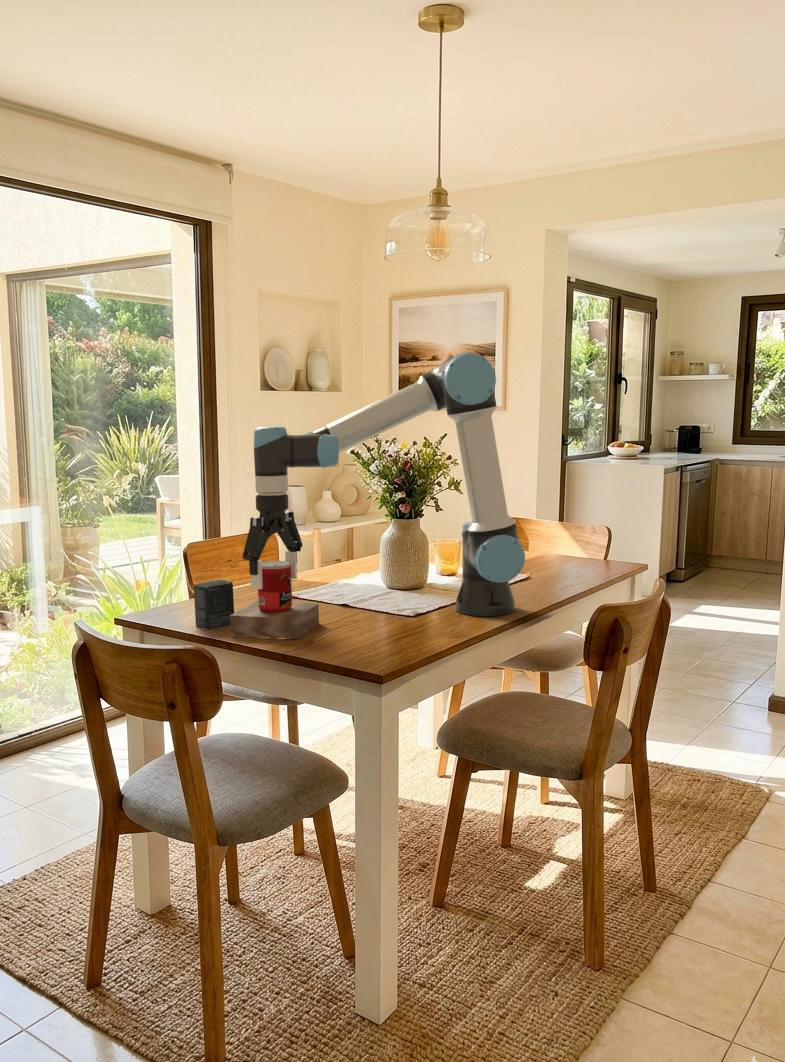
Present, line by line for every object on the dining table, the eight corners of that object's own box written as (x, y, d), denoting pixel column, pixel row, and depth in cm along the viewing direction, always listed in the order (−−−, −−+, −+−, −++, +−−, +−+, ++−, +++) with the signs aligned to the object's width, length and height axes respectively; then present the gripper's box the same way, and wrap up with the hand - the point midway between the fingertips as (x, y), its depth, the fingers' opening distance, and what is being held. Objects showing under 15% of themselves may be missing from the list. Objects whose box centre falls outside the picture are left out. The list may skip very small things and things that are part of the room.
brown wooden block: (318, 623, 222) (318, 603, 222) (296, 640, 207) (295, 618, 206) (257, 620, 226) (256, 600, 226) (230, 636, 211) (229, 615, 210)
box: (222, 620, 227) (220, 579, 225) (235, 624, 223) (233, 582, 221) (194, 626, 221) (192, 583, 220) (207, 630, 217) (205, 586, 216)
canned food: (286, 613, 212) (285, 566, 210) (253, 612, 213) (252, 565, 212) (296, 606, 219) (295, 561, 217) (264, 605, 221) (263, 560, 219)
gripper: (290, 488, 225) (292, 573, 228) (224, 498, 203) (227, 591, 206) (315, 489, 221) (317, 575, 224) (251, 499, 200) (254, 594, 203)
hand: (274, 583), depth 215 cm, fingers open, 13 cm apart
